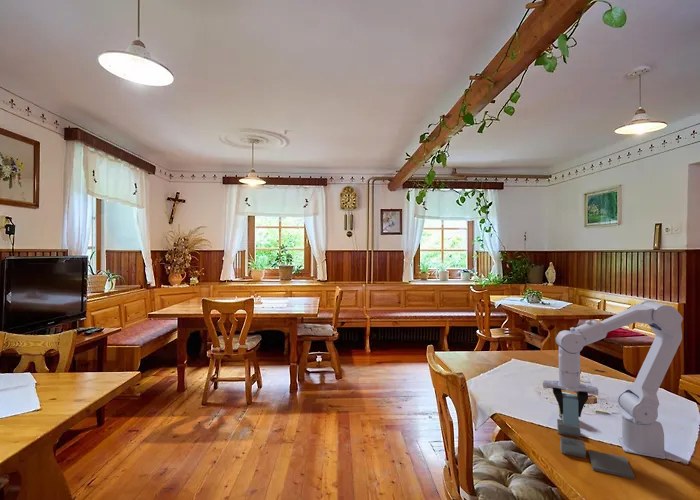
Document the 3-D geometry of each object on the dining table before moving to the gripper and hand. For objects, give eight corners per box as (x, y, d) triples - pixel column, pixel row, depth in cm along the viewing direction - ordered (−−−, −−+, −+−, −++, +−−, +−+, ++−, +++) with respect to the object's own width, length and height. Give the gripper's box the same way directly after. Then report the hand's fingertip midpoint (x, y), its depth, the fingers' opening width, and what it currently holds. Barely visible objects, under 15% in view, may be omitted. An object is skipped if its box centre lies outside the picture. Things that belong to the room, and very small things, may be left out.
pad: (625, 460, 101) (625, 457, 101) (634, 479, 93) (634, 476, 93) (588, 452, 105) (588, 449, 105) (593, 470, 97) (593, 467, 97)
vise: (577, 427, 119) (577, 418, 119) (585, 458, 103) (585, 447, 103) (556, 424, 122) (556, 415, 122) (561, 453, 105) (561, 443, 105)
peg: (577, 420, 112) (576, 394, 112) (578, 426, 108) (578, 399, 108) (562, 417, 114) (561, 392, 114) (563, 423, 110) (562, 397, 110)
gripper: (543, 371, 110) (544, 415, 111) (599, 378, 104) (600, 424, 104) (542, 364, 117) (543, 405, 117) (595, 370, 110) (596, 414, 110)
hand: (570, 414), depth 111 cm, fingers closed on peg, 4 cm apart
